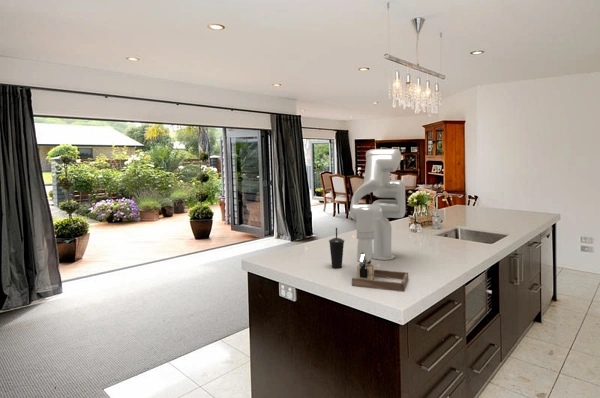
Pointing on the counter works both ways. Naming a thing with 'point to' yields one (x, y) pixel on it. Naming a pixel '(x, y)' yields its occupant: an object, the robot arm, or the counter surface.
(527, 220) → the counter surface
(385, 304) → the counter surface
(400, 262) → the counter surface
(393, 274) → the bay
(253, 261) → the counter surface
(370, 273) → the light wooden block
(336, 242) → the drinking cup
